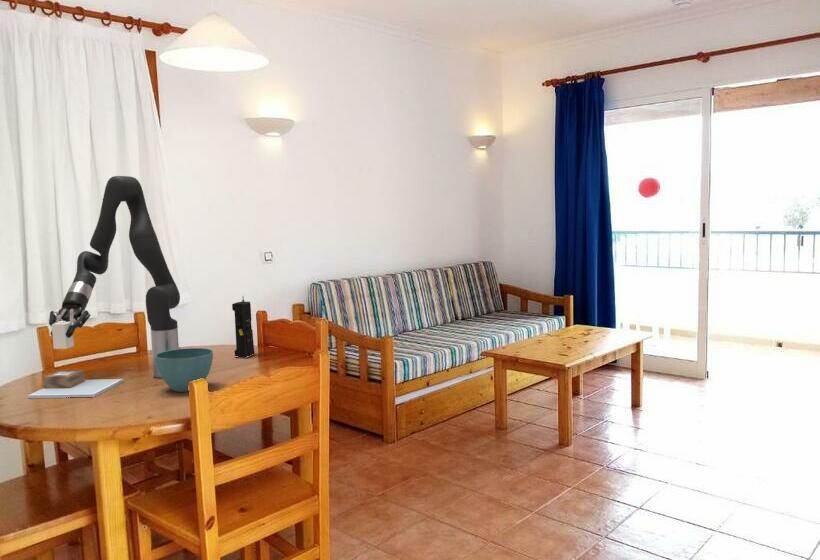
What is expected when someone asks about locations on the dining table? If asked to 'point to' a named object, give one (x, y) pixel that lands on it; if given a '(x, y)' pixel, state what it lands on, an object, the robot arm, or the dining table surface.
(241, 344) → the portable radio
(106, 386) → the build board
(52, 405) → the dining table surface
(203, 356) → the teal bowl
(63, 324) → the block
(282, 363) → the dining table surface
